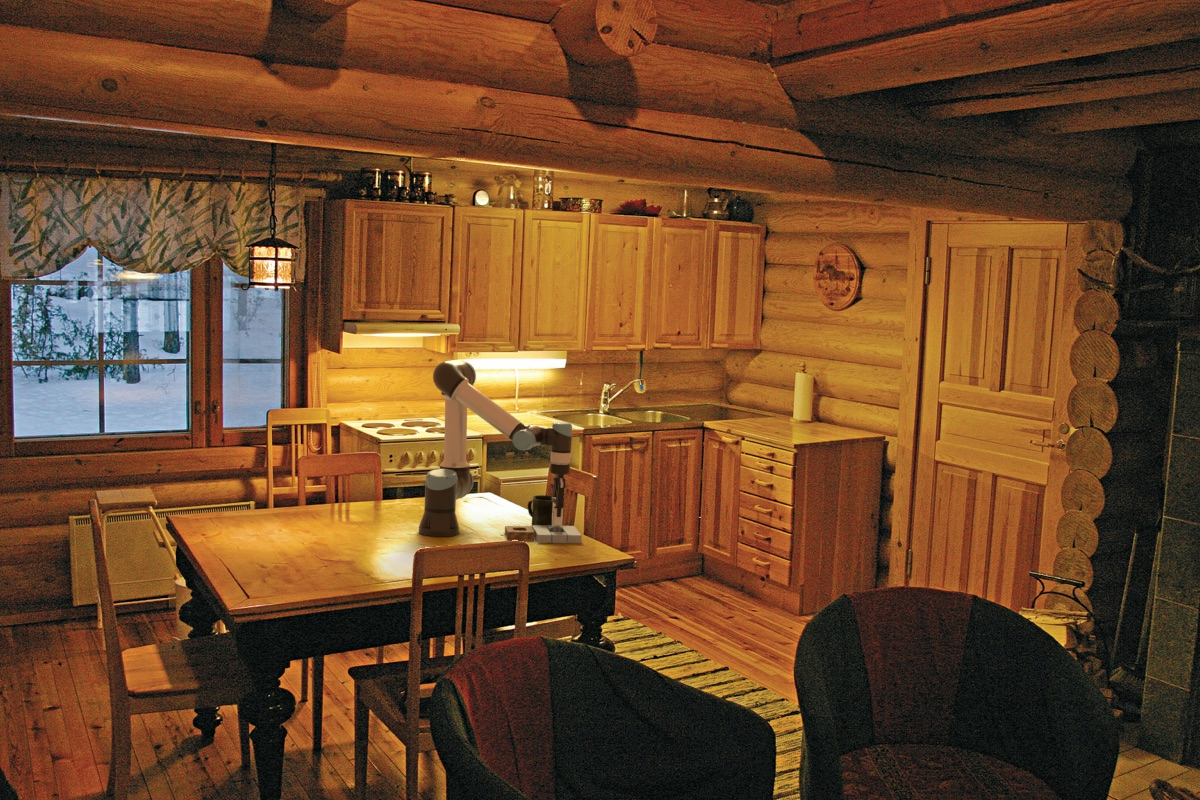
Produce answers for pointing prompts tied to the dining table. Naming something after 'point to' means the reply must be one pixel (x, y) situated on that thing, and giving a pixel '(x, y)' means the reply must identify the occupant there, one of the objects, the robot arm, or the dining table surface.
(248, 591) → the dining table surface
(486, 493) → the dining table surface
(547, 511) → the mug
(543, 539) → the socket
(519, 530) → the mount
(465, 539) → the dining table surface
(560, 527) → the pin
